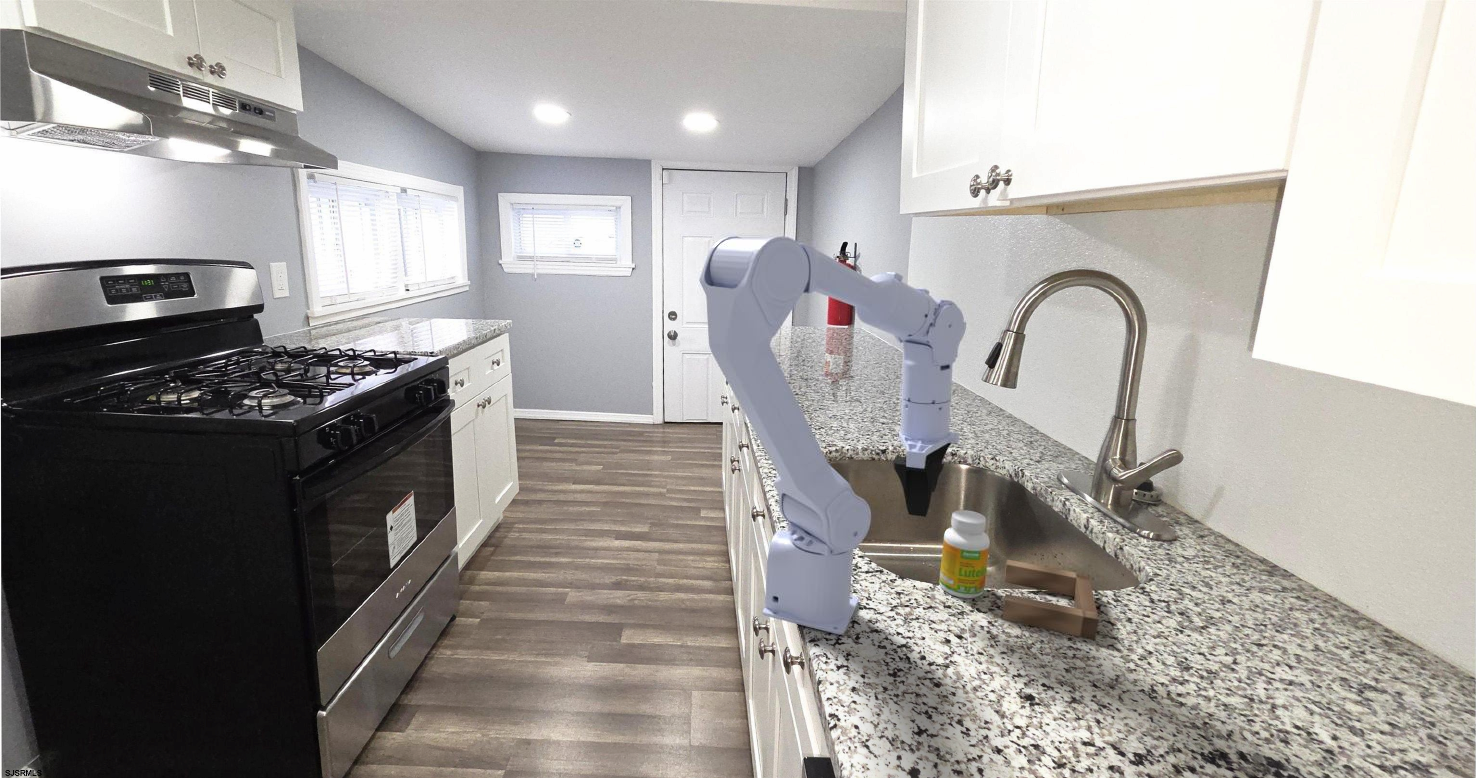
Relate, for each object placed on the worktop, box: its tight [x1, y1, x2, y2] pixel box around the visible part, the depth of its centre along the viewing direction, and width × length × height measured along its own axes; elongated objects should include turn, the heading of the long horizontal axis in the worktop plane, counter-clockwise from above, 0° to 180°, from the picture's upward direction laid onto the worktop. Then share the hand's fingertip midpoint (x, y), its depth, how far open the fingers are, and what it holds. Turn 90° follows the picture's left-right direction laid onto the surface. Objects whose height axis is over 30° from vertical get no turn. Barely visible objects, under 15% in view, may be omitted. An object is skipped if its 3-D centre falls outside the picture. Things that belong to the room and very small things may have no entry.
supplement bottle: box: [939, 509, 991, 599], centre depth 81 cm, size 5×5×10 cm
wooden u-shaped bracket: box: [1002, 559, 1099, 641], centre depth 78 cm, size 10×11×2 cm
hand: (922, 501), depth 82 cm, fingers open, 7 cm apart
